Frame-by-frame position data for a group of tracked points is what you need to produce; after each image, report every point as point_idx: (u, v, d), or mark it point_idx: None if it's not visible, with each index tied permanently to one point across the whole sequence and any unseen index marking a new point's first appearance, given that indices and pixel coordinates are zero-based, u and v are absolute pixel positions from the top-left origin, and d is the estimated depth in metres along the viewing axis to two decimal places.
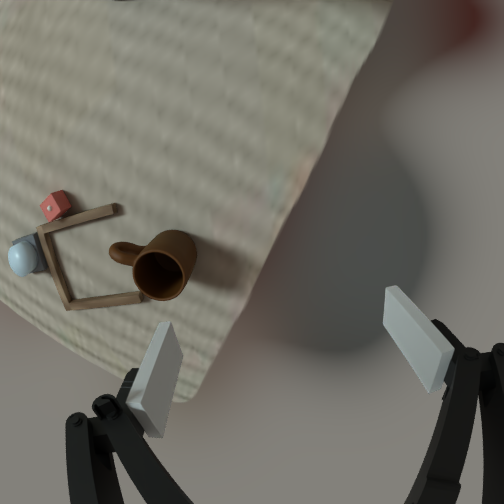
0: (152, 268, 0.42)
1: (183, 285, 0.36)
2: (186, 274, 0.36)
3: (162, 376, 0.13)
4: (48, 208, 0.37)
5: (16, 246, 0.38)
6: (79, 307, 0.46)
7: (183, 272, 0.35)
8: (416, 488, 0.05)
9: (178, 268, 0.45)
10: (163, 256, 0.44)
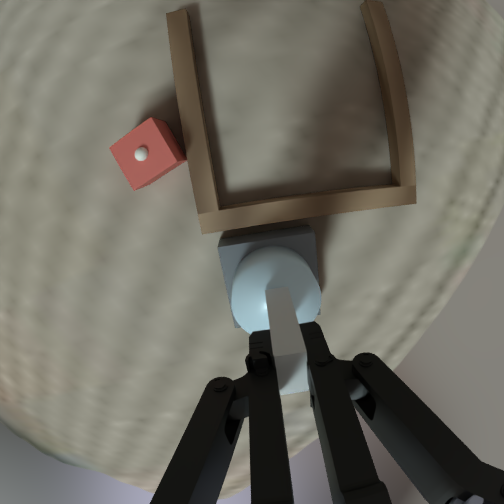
0: None
1: None
2: None
3: None
4: (138, 153, 0.16)
5: (233, 297, 0.19)
6: (410, 156, 0.19)
7: None
8: (337, 500, 0.06)
9: None
10: None
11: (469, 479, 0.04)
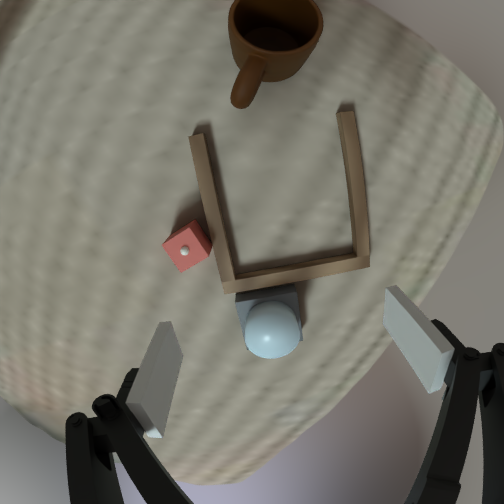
0: None
1: None
2: None
3: (162, 376, 0.13)
4: (183, 251, 0.28)
5: (246, 334, 0.30)
6: (365, 236, 0.30)
7: None
8: (416, 488, 0.05)
9: (294, 49, 0.24)
10: None
11: None
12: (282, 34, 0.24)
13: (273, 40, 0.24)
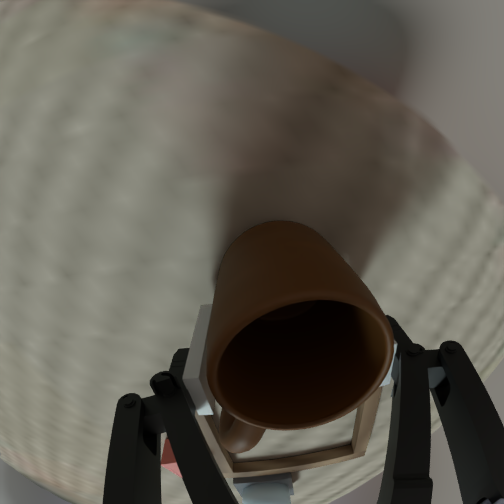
0: (306, 339, 0.17)
1: (354, 301, 0.09)
2: (313, 283, 0.09)
3: None
4: None
5: None
6: (365, 441, 0.24)
7: (300, 297, 0.09)
8: (385, 489, 0.06)
9: None
10: None
11: None
12: None
13: None
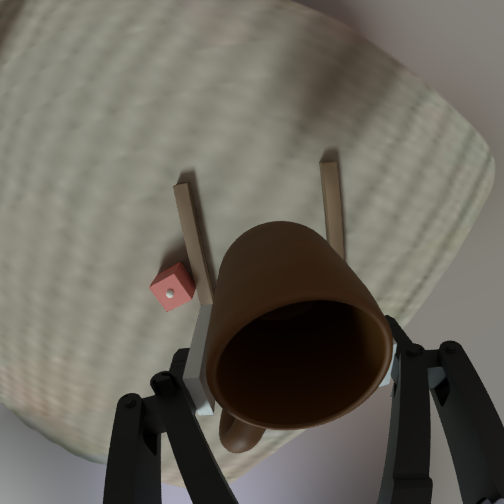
0: (306, 339, 0.17)
1: (353, 301, 0.09)
2: (312, 283, 0.09)
3: None
4: (168, 295, 0.30)
5: None
6: None
7: (299, 298, 0.09)
8: (385, 489, 0.06)
9: None
10: None
11: None
12: None
13: None
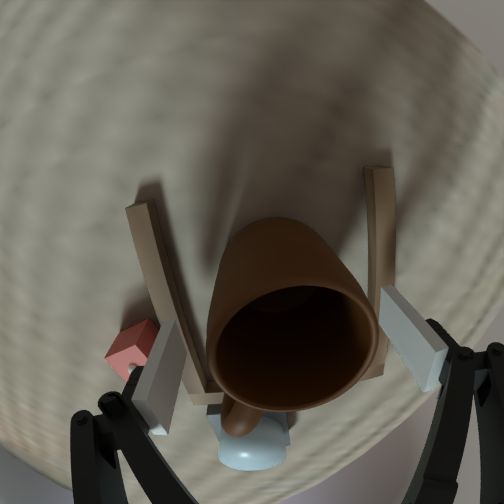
0: (302, 328, 0.18)
1: (337, 286, 0.10)
2: (299, 270, 0.10)
3: (167, 373, 0.13)
4: None
5: None
6: (383, 343, 0.21)
7: (287, 283, 0.10)
8: (413, 488, 0.05)
9: None
10: (284, 293, 0.20)
11: None
12: None
13: None
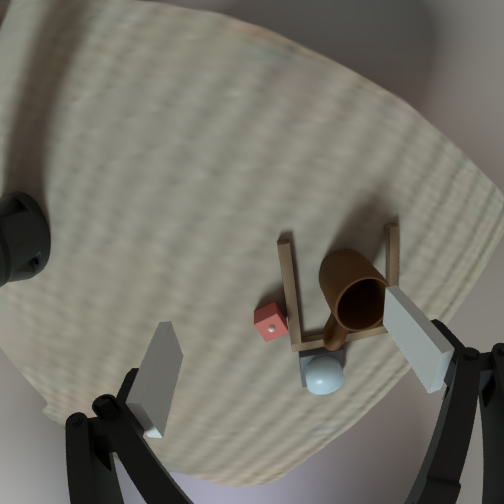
0: (357, 300, 0.38)
1: (378, 278, 0.30)
2: (367, 273, 0.30)
3: (162, 376, 0.13)
4: (271, 330, 0.38)
5: (308, 380, 0.40)
6: None
7: (364, 278, 0.30)
8: (416, 488, 0.05)
9: None
10: None
11: None
12: None
13: None
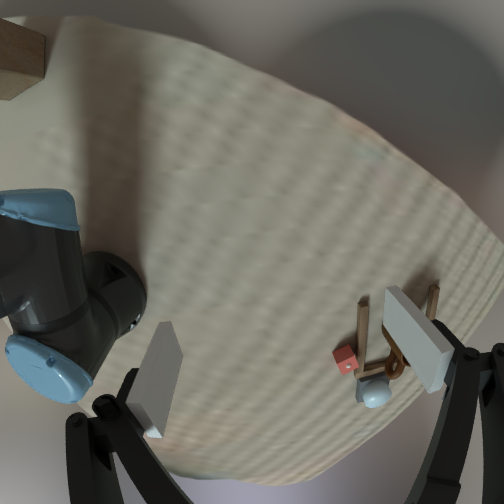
0: None
1: None
2: None
3: (162, 376, 0.13)
4: (348, 367, 0.47)
5: (367, 399, 0.49)
6: None
7: None
8: (416, 488, 0.05)
9: None
10: None
11: None
12: None
13: None
